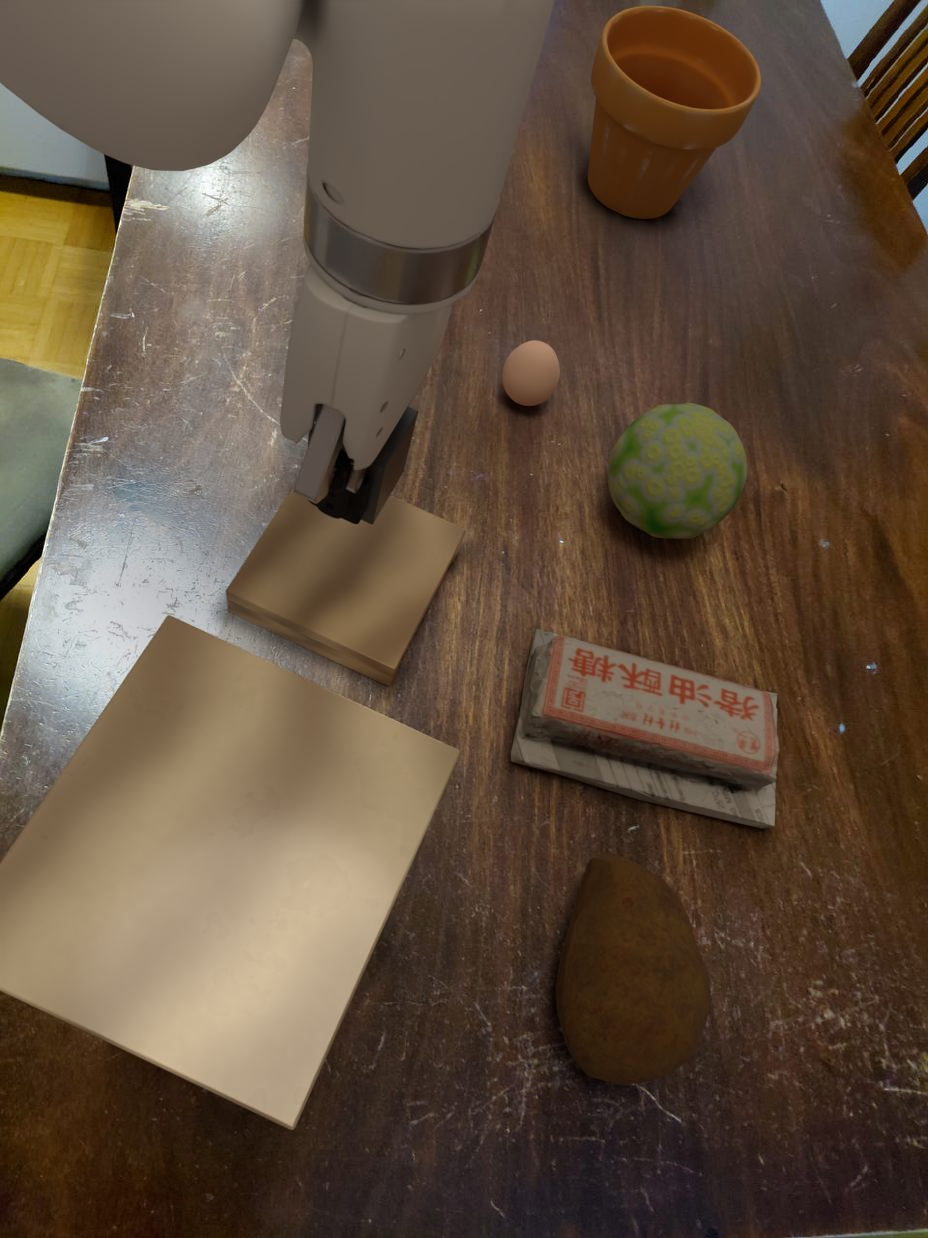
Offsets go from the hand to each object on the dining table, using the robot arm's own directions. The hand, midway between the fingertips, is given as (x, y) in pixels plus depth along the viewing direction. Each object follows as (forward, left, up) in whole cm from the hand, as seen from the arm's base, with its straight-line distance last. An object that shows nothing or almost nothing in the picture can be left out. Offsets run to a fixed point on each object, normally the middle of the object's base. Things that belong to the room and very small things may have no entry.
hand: (355, 475), depth 53 cm
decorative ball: (+18, +17, -13) cm, 28 cm away
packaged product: (+23, -1, -13) cm, 27 cm away
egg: (+5, +22, -13) cm, 26 cm away
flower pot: (+5, +52, -13) cm, 54 cm away
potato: (+26, -17, -13) cm, 34 cm away
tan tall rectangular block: (+6, -25, -12) cm, 29 cm away
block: (0, 0, -1) cm, 1 cm away
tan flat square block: (0, 0, -12) cm, 12 cm away
